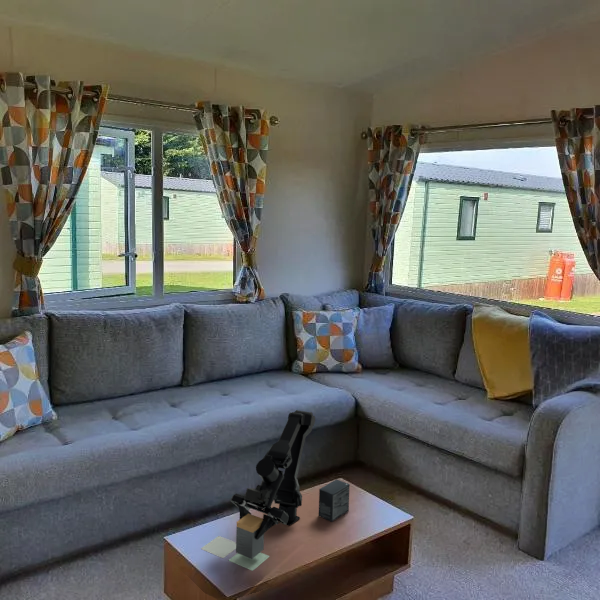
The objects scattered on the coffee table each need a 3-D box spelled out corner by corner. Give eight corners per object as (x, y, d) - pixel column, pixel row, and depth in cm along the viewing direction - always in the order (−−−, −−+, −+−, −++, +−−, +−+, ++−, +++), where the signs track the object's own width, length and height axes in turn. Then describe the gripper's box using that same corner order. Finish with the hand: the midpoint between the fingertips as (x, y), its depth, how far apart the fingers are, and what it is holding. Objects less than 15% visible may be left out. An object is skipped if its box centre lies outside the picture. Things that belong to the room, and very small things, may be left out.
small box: (334, 505, 216) (336, 478, 214) (349, 511, 212) (350, 484, 210) (317, 515, 208) (318, 488, 206) (332, 522, 204) (333, 494, 202)
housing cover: (248, 522, 182) (248, 513, 182) (264, 528, 179) (264, 519, 179) (236, 531, 177) (236, 521, 176) (252, 537, 174) (252, 528, 173)
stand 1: (218, 538, 191) (218, 535, 191) (240, 547, 186) (241, 544, 186) (200, 551, 183) (200, 548, 183) (223, 561, 179) (223, 558, 179)
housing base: (247, 543, 183) (248, 517, 182) (263, 549, 180) (264, 523, 179) (236, 552, 178) (236, 526, 177) (252, 559, 175) (252, 532, 174)
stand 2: (246, 549, 185) (246, 546, 185) (269, 559, 181) (269, 556, 181) (228, 563, 178) (228, 560, 178) (252, 573, 173) (252, 570, 173)
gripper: (234, 469, 184) (211, 517, 176) (284, 485, 174) (262, 536, 167) (249, 483, 192) (227, 529, 184) (297, 499, 182) (277, 549, 174)
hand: (247, 535), depth 177 cm, fingers closed on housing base, 6 cm apart
